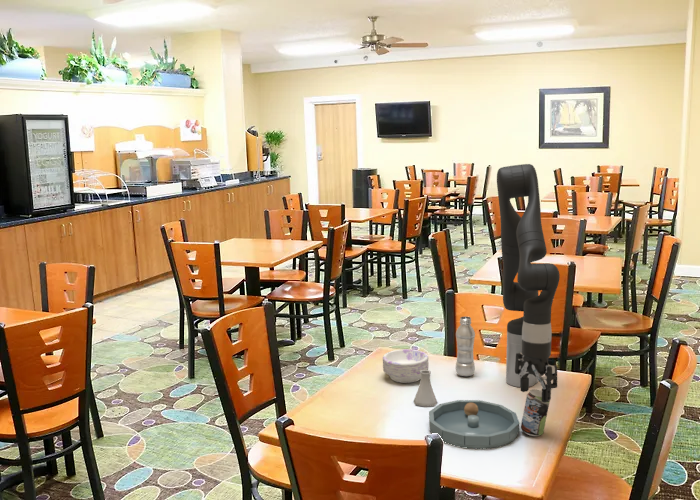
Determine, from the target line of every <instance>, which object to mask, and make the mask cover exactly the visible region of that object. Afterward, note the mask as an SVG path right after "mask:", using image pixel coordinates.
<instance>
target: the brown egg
mask: <svg viewBox="0 0 700 500" xmlns="http://www.w3.org/2000/svg"><path fill="white" fill-rule="evenodd" d="M464 412H465V414H466V415H467V416H469V415H477V413H478V406H477V405H476V404H475V403H472V402H470V403H467V404H466V405H465V407H464Z"/></svg>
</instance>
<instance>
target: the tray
mask: <svg viewBox="0 0 700 500" xmlns="http://www.w3.org/2000/svg"><path fill="white" fill-rule="evenodd" d="M470 402H472V403H475V404H476V405H477V406H478V413H477V415H469V416H467V415H466V414H465V412H464V407H465V405H466V404H467V403H470ZM428 415H429V416H428V423H429V427H428V428H429V432H430V434H431V433H438V434H439V435H440V436H441V438H442V439H443V441H444V442H443V443H445V442H446V443H445V444H447V443H449V444H448V445H450V444H452V445H451V446H453V445H455V446H454V447H457V446H460V447H459V448H462V447H467V448H466V449H469V448H477V449H476V450H484V449H483V448H486V449H487V448H490V449H497V448H500V446H501V447H504V446H506V445H509V444H511V443H512V442H513V441H515V440H516V439H517V437H518V435H519V434H518V433H519V432H520V421H519V417H518V416H517V413H516V412H515V411H513V410H511V409H509V408H508V407H506V406H504V405H502V404H499V403H494V402H490V401H485V400H479V399H475V400H473V399H472V400H471V399H470V400H469V399H457V400H452V401H447V402H443V403H440V404H438V405H437V406H435V407H434V408H432V409H431V410H429V411H428ZM478 448H479V449H478ZM480 448H482V449H480ZM486 449H485V450H486ZM487 450H488V449H487Z"/></svg>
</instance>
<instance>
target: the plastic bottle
mask: <svg viewBox="0 0 700 500" xmlns="http://www.w3.org/2000/svg"><path fill="white" fill-rule="evenodd" d="M459 324H460V325H458V327H457V329H456V332H455V338H456V347H457V348H456V349H457V353H456V355H457V356H456V361H455V362H456V363H455V372H456V375H457V376H460V377H471V376H473V375H474V373H475V370H476V365H475V360H474V358H475V357H474V344H475V338H476V333H475V329H474V327H473V326H472V325H471V324H472V317H470V316H461V317H460V319H459Z"/></svg>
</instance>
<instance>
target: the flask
mask: <svg viewBox="0 0 700 500" xmlns="http://www.w3.org/2000/svg"><path fill="white" fill-rule="evenodd" d="M420 373H421V379H420V382H419V385H418V388H417V391H416V394H415V397H414V399H413V403H414V405H415V406H418V407H424V408H425V407H426V408H427V407H434V406H435V405H437V404H438V400H437V398H436V395H435V393H434V389H433V386H432V382H431V377H430V376H431V370H430V369H428V370H421V371H420Z"/></svg>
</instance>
